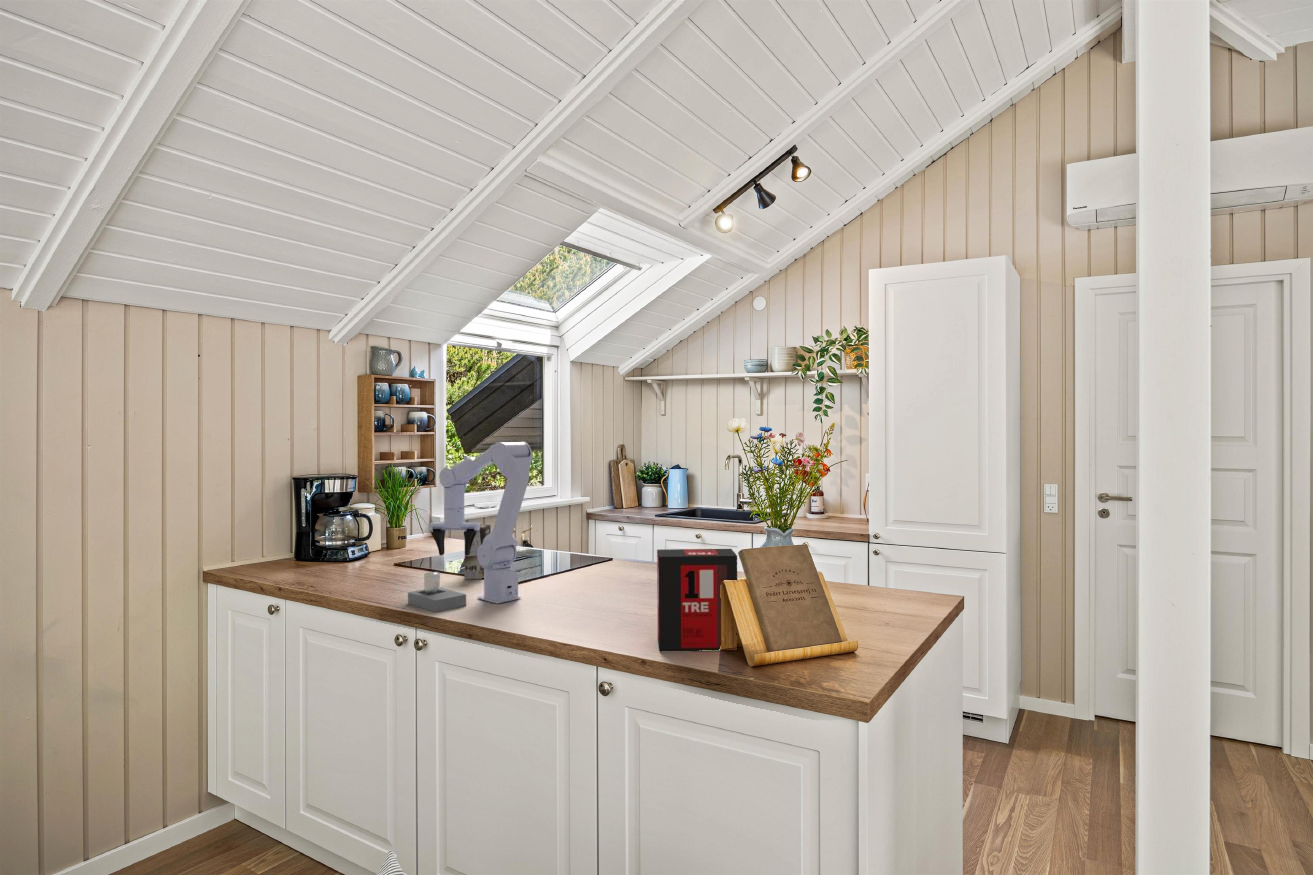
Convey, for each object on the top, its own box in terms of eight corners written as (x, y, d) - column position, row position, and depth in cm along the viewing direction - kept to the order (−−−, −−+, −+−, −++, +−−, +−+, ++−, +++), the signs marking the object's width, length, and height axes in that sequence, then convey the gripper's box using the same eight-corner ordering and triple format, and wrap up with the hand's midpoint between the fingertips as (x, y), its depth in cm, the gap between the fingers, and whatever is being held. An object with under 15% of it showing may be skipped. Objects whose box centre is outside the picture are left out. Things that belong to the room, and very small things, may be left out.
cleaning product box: (659, 652, 147) (658, 556, 146) (657, 639, 155) (657, 549, 155) (737, 650, 147) (737, 555, 147) (731, 638, 156) (731, 548, 156)
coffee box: (484, 579, 220) (483, 527, 220) (464, 579, 220) (463, 528, 220) (491, 573, 229) (491, 524, 229) (472, 573, 229) (471, 524, 229)
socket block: (466, 605, 187) (466, 594, 187) (435, 612, 180) (435, 600, 180) (437, 597, 196) (437, 586, 196) (408, 603, 189) (407, 592, 189)
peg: (442, 602, 190) (442, 573, 190) (429, 605, 187) (429, 575, 187) (434, 600, 193) (434, 571, 193) (421, 603, 190) (421, 573, 190)
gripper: (482, 506, 208) (483, 552, 208) (435, 506, 209) (435, 552, 209) (475, 509, 201) (475, 556, 201) (425, 509, 202) (426, 556, 202)
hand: (454, 554), depth 205 cm, fingers open, 7 cm apart
